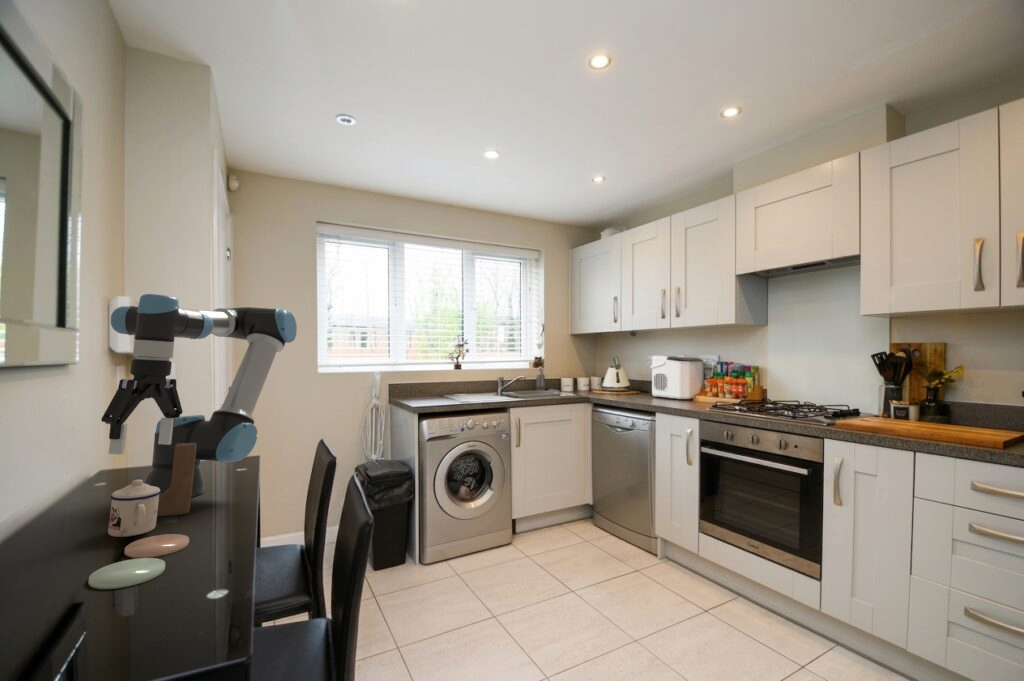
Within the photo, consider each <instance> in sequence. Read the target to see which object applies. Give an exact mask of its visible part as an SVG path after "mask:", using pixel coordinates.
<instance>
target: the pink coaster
mask: <svg viewBox="0 0 1024 681" xmlns="http://www.w3.org/2000/svg"><path fill="white" fill-rule="evenodd" d="M189 543H190V537H189V536H188V535H185V534H176V533H170V534H169V533H166V534H157V535H153V536H148V537H143V538H141V539H137V540H135V541H132V542H131V543H129V544H128V545H126V546H125V548H124V555H125V557H129V558H131V559H138V558H157V557H161V556H167V555H171V554H174V553H177V552H179V551H182V550H183V549H185V548H187V547H188V546H189Z"/></svg>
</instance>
